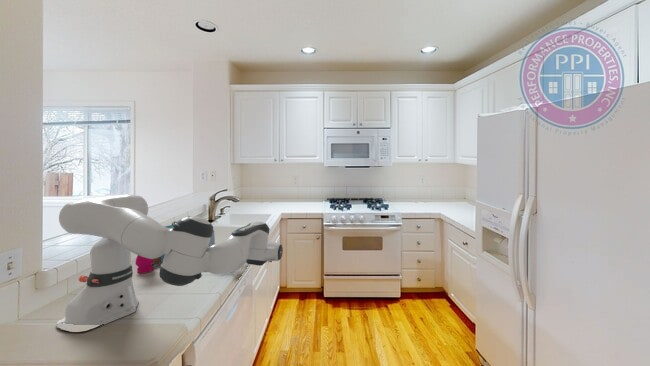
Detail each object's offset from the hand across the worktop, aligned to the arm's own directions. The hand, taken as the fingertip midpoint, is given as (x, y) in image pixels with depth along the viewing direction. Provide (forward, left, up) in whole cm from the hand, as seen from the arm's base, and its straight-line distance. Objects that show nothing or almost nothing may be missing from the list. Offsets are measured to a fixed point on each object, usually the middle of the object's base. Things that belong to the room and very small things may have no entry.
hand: (226, 246), depth 149 cm
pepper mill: (-19, +31, -9) cm, 38 cm away
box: (0, +11, -9) cm, 14 cm away
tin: (-7, +37, -9) cm, 39 cm away
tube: (-9, +28, -9) cm, 31 cm away
